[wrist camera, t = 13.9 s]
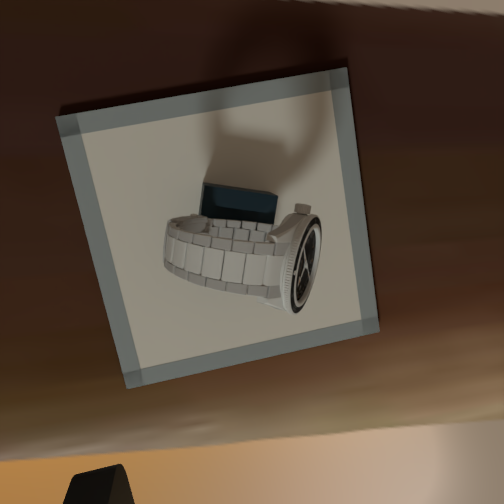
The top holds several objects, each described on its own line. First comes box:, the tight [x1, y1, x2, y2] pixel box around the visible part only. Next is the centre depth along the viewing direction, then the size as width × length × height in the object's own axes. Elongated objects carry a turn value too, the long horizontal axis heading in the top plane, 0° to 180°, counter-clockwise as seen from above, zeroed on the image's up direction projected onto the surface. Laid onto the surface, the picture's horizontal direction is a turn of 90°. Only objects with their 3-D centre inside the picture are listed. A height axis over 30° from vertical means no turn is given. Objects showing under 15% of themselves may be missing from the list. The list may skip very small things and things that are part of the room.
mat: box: [55, 67, 380, 389], centre depth 31 cm, size 18×18×1 cm
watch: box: [163, 182, 322, 315], centre depth 25 cm, size 6×8×11 cm
